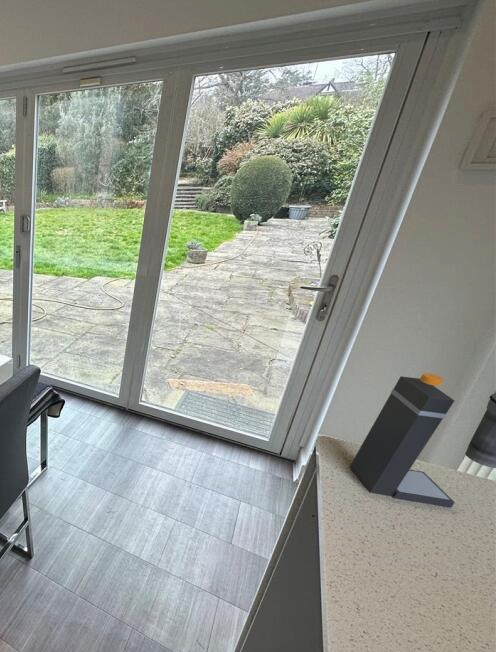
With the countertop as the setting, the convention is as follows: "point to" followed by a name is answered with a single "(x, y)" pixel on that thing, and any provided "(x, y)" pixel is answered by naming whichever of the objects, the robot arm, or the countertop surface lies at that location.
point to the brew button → (431, 379)
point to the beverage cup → (485, 438)
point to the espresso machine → (403, 444)
